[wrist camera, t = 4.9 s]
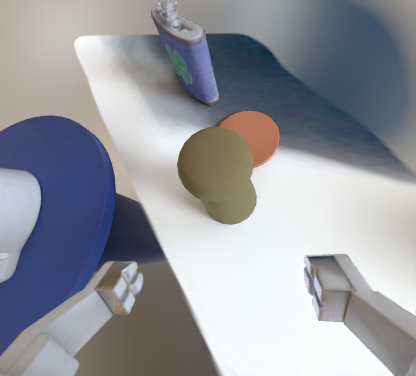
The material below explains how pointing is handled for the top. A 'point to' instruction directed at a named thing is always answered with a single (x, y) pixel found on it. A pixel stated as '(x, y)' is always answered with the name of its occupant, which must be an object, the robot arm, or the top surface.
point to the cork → (219, 173)
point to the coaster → (255, 133)
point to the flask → (186, 52)
